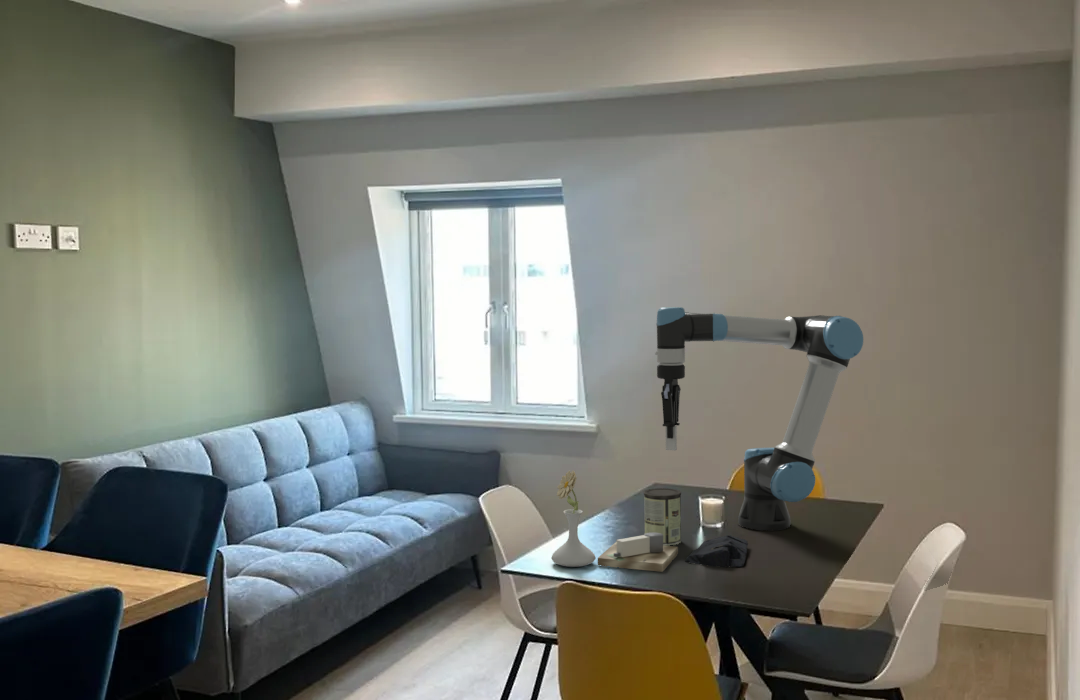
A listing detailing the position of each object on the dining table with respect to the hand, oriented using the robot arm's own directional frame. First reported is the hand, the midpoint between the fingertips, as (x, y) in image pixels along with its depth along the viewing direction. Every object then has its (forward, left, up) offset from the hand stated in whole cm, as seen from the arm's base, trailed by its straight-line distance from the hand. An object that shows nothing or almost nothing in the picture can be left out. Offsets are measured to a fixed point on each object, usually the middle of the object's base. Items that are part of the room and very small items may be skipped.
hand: (671, 449), depth 273 cm
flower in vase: (+19, +28, -27) cm, 43 cm away
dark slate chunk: (-15, +7, -27) cm, 32 cm away
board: (+5, +18, -26) cm, 32 cm away
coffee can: (+3, -2, -27) cm, 27 cm away
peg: (+4, +20, -24) cm, 31 cm away
